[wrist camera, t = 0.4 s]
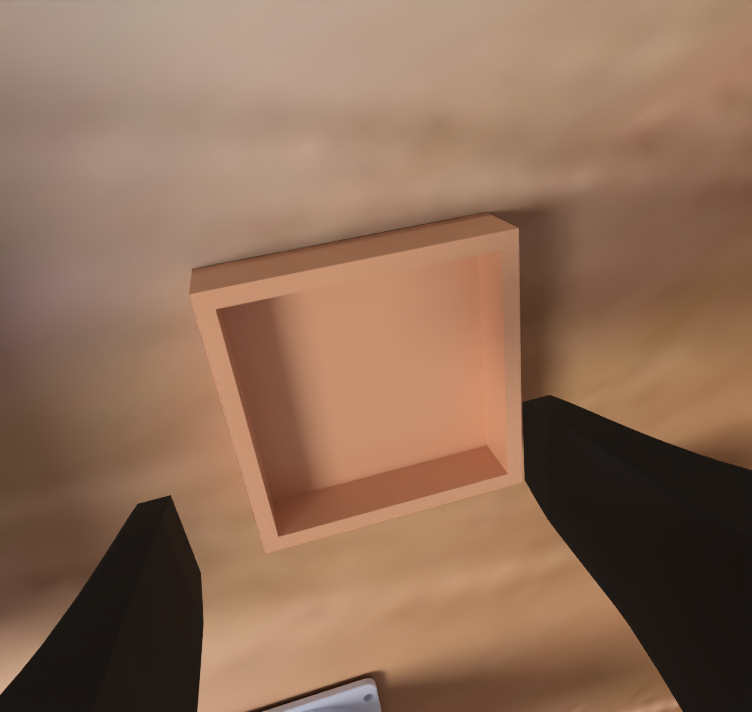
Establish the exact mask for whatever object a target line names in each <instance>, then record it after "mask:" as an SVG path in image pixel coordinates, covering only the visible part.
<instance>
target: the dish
mask: <svg viewBox="0 0 752 712" xmlns="http://www.w3.org/2000/svg"><path fill="white" fill-rule="evenodd" d="M189 296H190V299H191V303H192V306H193V310H194V313H195V316H196V320H197V323H198V327H199V330H200V333H201V337H202V340H203V343H204V347H205V350H206V354H207V357H208V360H209V364H210V367H211V371H212V374H213V377H214V381H215V384H216V388H217V391H218V394H219V398H220V401H221V404H222V408H223V411H224V415H225V418H226V421H227V425H228V428H229V432H230V435H231V438H232V442H233V445H234V449H235V452H236V455H237V459H238V462H239V465H240V469H241V472H242V476H243V479H244V482H245V486H246V489H247V493H248V496H249V499H250V503H251V506H252V510H253V513H254V516H255V520H256V523H257V526H258V530H259V533H260V537H261V540H262V543H263V547H264V550H265V554H266V553H270V552H273V551H277V550H280V549H284V548H288V547H291V546H295V545H298V544H302V543H306V542H309V541H313V540H316V539H320V538H324V537H327V536H331V535H334V534H338V533H341V532H345V531H349V530H352V529H356V528H359V527H363V526H367V525H370V524H374V523H377V522H381V521H385V520H388V519H392V518H395V517H399V516H403V515H406V514H410V513H413V512H417V511H421V510H424V509H428V508H431V507H435V506H439V505H442V504H446V503H449V502H453V501H456V500H460V499H464V498H467V497H471V496H474V495H478V494H482V493H485V492H489V491H492V490H496V489H500V488H503V487H507V486H510V485H514V484H518V483H521V482H522V423H521V349H520V274H519V228H518V227H516V226H514V225H511V224H509V223H507V222H505V221H503V220H501V219H499V218H497V217H495V216H493V215H491V214H489V213H487V212H485V213H480V214H474V215H469V216H464V217H459V218H454V219H449V220H444V221H438V222H433V223H428V224H423V225H418V226H413V227H408V228H402V229H397V230H392V231H387V232H382V233H377V234H371V235H366V236H361V237H356V238H351V239H346V240H341V241H335V242H330V243H325V244H320V245H315V246H310V247H305V248H299V249H294V250H289V251H284V252H279V253H274V254H269V255H263V256H258V257H253V258H248V259H243V260H238V261H232V262H227V263H222V264H217V265H212V266H207V267H202V268H196V269H192V275H191V283H190V291H189Z"/></svg>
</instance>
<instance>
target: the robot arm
mask: <svg viewBox="0 0 752 712" xmlns="http://www.w3.org/2000/svg"><path fill="white" fill-rule="evenodd" d="M523 435H524V472H525V481H526V483H527V485H528V486H529V488H530V490H531V492H532V494H533V495H534V497H535V499H536V501H537V502H538V504H539V506H540V507H541V509H542V511H543V512H544V514H545V516H546V517H547V519H548V520H549V522H550V523H551V524H552V526H553V527H554V528H555V530H556V531H557V532H558V534H559V535H560V536H561V537H562V539H563V540H564V541H565V543H566V544H567V545H568V547H569V548H570V549H571V550H572V552H573V553H574V554H575V555H576V557H577V558H578V559H579V561H580V562H581V563H582V564H583V566H584V567H585V568H586V570H587V571H588V572H589V573H590V575H591V576H592V577H593V578H594V580H595V581H596V582H597V584H598V585H599V586H600V587H601V589H602V590H603V591H604V592H605V594H606V595H607V596H608V598H609V599H610V600H611V601H612V603H613V604H614V605H615V606H616V608H617V609H618V611H619V612H620V613H621V615H622V616H623V618H624V619H625V620H626V622H627V623H628V625H629V626H630V627H631V629H632V630H633V632H634V634H635V635H636V637H637V638H638V640H639V641H640V643H641V645H642V646H643V648H644V649H645V651H646V652H647V654H648V656H649V657H650V659H651V660H652V662H653V663H654V665H655V667H656V668H657V670H658V671H659V673H660V674H661V676H662V678H663V679H664V681H665V683H666V684H667V686H668V688H669V689H670V691H671V693H672V694H673V696H674V698H675V699H676V701H677V703H678V704H679V706H680V708H681V709H682V711H683V712H752V470H749V469H745V468H742V467H738V466H735V465H732V464H728V463H725V462H721V461H718V460H715V459H712V458H709V457H705V456H702V455H699V454H697V453H694V452H691V451H688V450H685V449H683V448H680V447H677V446H674V445H672V444H669V443H666V442H663V441H661V440H658V439H656V438H653V437H650V436H648V435H645V434H643V433H640V432H638V431H636V430H633V429H631V428H628V427H626V426H623V425H621V424H619V423H616V422H614V421H612V420H609V419H607V418H605V417H602V416H600V415H598V414H595V413H593V412H591V411H588V410H586V409H584V408H581V407H579V406H577V405H574V404H572V403H569V402H567V401H564V400H562V399H559V398H557V397H554V396H551V395H548V396H544V397H540V398H536V399H533V400H529V401H525V402H523ZM202 639H203V601H202V585H201V572H200V570H199V567H198V564H197V562H196V559H195V557H194V554H193V552H192V549H191V546H190V544H189V541H188V539H187V536H186V534H185V531H184V528H183V526H182V523H181V521H180V518H179V516H178V513H177V510H176V508H175V505H174V503H173V500H172V498H171V495H170V496H166V497H162V498H158V499H154V500H151V501H147V502H143V503H139V504H137V506H136V507H135V509H134V510H133V512H132V513H131V515H130V516H129V518H128V519H127V521H126V522H125V524H124V525H123V527H122V529H121V530H120V532H119V533H118V535H117V536H116V538H115V540H114V541H113V543H112V544H111V546H110V548H109V549H108V551H107V552H106V554H105V555H104V557H103V559H102V560H101V562H100V563H99V565H98V566H97V568H96V569H95V571H94V572H93V574H92V575H91V577H90V578H89V580H88V581H87V583H86V584H85V586H84V587H83V589H82V590H81V592H80V593H79V595H78V596H77V598H76V599H75V600H74V602H73V603H72V605H71V606H70V607H69V609H68V610H67V611H66V613H65V614H64V616H63V617H62V618H61V620H60V621H59V622H58V624H57V625H56V627H55V628H54V629H53V631H52V632H51V633H50V635H49V636H48V637H47V639H46V640H45V642H44V643H43V644H42V645H41V647H40V648H39V649H38V650H37V652H36V653H35V654H34V656H33V657H32V658H31V659H30V660H29V662H28V663H27V664H26V665H25V667H24V668H23V669H22V670H21V671H20V673H19V674H18V675H17V676H16V677H15V678H14V680H13V681H12V682H11V683H10V684H9V685H8V687H7V688H6V689H5V690H4V691H3V692H2V694H1V695H0V712H197V708H198V694H199V681H200V668H201V653H202ZM263 712H382V711H381V706H380V702H379V697H378V692H377V687H376V683H375V681H374V680H373V679H371V678H365V679H362V680H359V681H356V682H352V683H349V684H346V685H343V686H340V687H337V688H334V689H331V690H328V691H325V692H321V693H318V694H315V695H312V696H309V697H306V698H303V699H300V700H297V701H294V702H290V703H287V704H284V705H281V706H278V707H275V708H272V709H269V710H266V711H263Z"/></svg>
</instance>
